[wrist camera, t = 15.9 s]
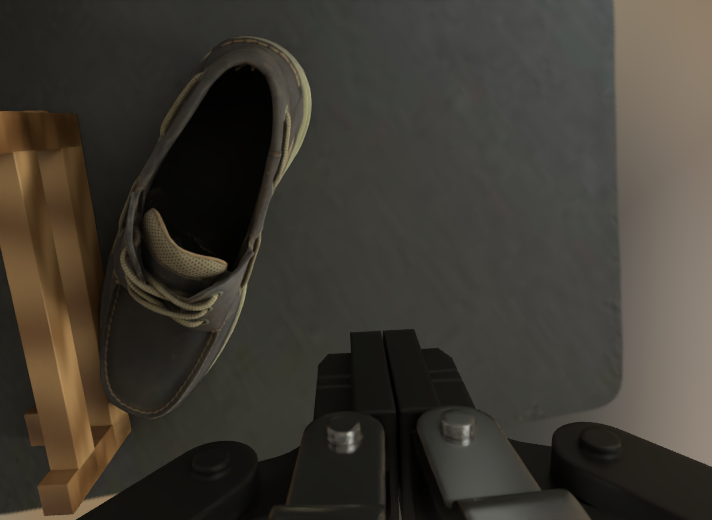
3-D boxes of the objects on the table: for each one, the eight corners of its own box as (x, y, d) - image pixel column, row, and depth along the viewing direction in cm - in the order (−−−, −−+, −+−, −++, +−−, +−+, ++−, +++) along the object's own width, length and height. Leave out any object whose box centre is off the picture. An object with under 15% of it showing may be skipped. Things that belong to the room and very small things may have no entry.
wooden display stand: (-34, 114, 38) (-164, 110, 28) (76, 109, 38) (-15, 104, 28) (39, 438, 45) (-45, 524, 35) (132, 433, 45) (74, 518, 35)
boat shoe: (86, 366, 43) (6, 443, 33) (184, 9, 36) (122, -37, 26) (213, 405, 44) (174, 491, 34) (329, 67, 38) (325, 46, 27)
